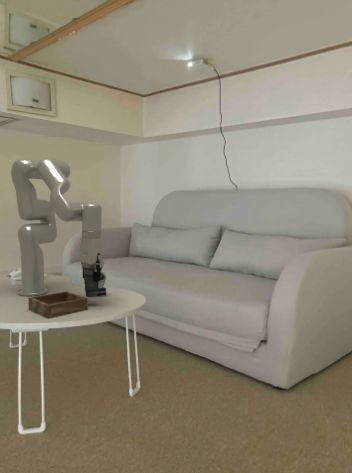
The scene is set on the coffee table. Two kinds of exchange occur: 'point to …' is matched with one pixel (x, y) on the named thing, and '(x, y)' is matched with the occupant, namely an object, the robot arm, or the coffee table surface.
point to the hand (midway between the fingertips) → (91, 279)
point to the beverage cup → (90, 280)
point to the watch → (101, 285)
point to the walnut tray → (58, 304)
